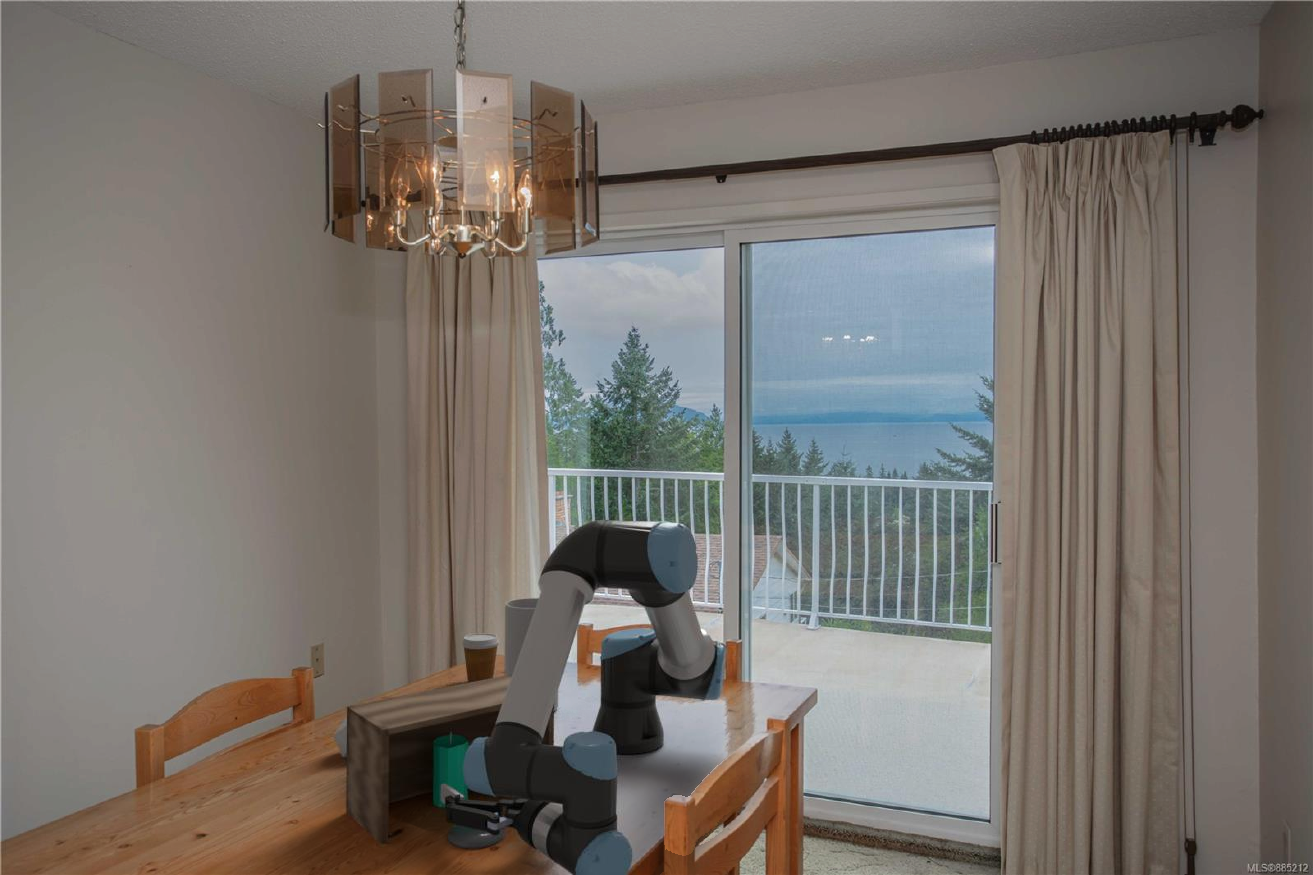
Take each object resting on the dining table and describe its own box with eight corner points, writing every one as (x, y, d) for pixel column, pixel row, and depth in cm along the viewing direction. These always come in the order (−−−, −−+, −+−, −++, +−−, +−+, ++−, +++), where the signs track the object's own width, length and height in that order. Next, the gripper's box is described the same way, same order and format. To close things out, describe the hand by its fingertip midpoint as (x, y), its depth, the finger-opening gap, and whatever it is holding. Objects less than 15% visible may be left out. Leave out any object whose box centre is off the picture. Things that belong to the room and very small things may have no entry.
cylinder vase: (568, 707, 206) (569, 601, 206) (534, 721, 196) (535, 610, 195) (528, 698, 213) (529, 596, 213) (493, 712, 202) (493, 604, 202)
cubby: (346, 812, 148) (346, 706, 148) (510, 767, 169) (511, 674, 169) (381, 844, 136) (382, 729, 136) (553, 792, 157) (554, 692, 157)
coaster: (511, 824, 144) (511, 820, 144) (496, 849, 135) (496, 846, 135) (458, 821, 145) (458, 818, 145) (440, 847, 136) (440, 843, 136)
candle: (435, 793, 156) (436, 726, 156) (469, 792, 156) (470, 726, 156) (429, 808, 150) (430, 738, 150) (465, 807, 150) (465, 737, 150)
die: (353, 769, 168) (384, 725, 171) (318, 744, 170) (349, 701, 173) (365, 769, 176) (395, 727, 179) (332, 745, 178) (362, 704, 181)
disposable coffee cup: (455, 687, 222) (456, 640, 222) (469, 677, 231) (470, 632, 231) (491, 689, 220) (491, 642, 220) (504, 679, 229) (504, 633, 229)
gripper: (475, 878, 121) (409, 825, 137) (617, 827, 137) (543, 785, 153) (475, 824, 121) (409, 777, 137) (618, 779, 137) (544, 742, 153)
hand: (480, 781), depth 145 cm, fingers open, 13 cm apart
